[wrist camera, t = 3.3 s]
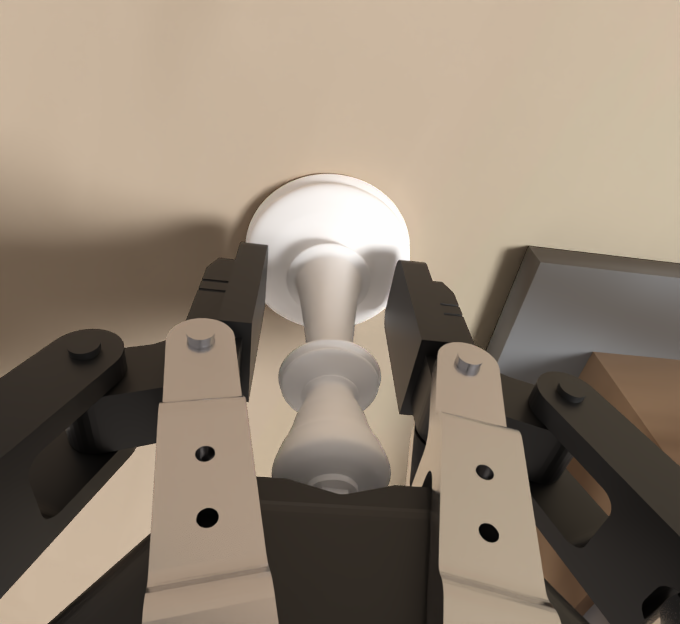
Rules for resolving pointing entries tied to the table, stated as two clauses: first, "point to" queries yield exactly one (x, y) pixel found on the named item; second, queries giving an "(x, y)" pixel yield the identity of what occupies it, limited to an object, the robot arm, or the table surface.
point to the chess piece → (330, 321)
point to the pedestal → (596, 354)
